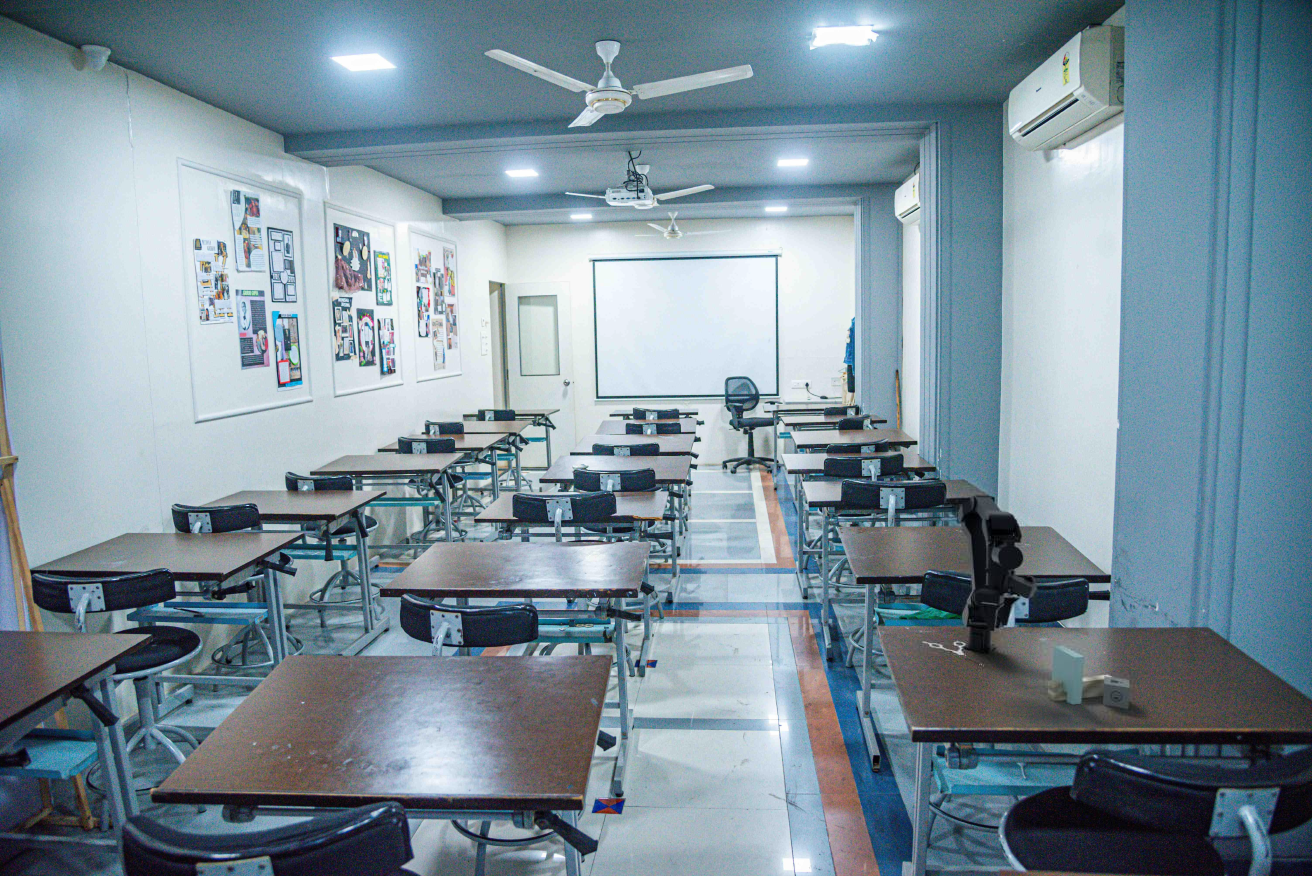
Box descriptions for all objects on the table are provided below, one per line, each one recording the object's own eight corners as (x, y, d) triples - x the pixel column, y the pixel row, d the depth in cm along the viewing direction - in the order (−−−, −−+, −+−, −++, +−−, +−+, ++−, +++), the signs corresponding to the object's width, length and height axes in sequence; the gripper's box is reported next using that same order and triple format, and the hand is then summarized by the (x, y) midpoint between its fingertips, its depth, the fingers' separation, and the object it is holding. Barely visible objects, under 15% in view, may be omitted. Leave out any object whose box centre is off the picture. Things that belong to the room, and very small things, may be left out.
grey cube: (1103, 696, 199) (1104, 676, 198) (1127, 701, 197) (1129, 680, 196) (1103, 704, 195) (1104, 683, 194) (1128, 709, 192) (1129, 687, 192)
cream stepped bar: (1053, 701, 196) (1054, 684, 196) (1047, 697, 198) (1048, 680, 198) (1113, 694, 200) (1114, 677, 200) (1106, 691, 202) (1107, 674, 201)
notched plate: (1051, 692, 201) (1053, 646, 200) (1060, 691, 202) (1062, 645, 200) (1071, 704, 194) (1074, 657, 193) (1081, 703, 195) (1084, 656, 194)
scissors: (958, 639, 236) (999, 665, 216) (958, 642, 236) (999, 668, 217) (922, 641, 234) (960, 668, 215) (922, 644, 234) (960, 671, 215)
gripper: (1021, 571, 200) (1020, 638, 200) (1044, 564, 214) (1044, 627, 214) (972, 566, 207) (972, 631, 207) (998, 560, 222) (998, 621, 221)
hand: (998, 628), depth 212 cm, fingers open, 9 cm apart
